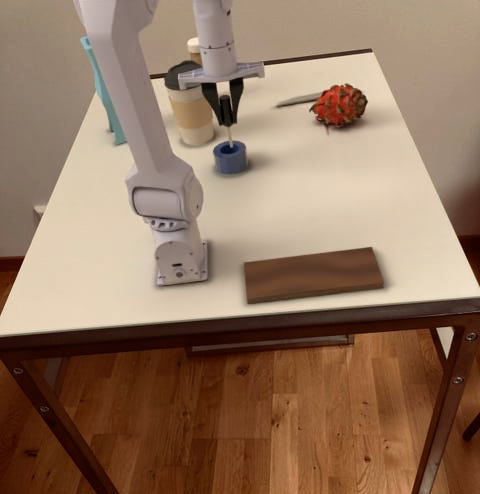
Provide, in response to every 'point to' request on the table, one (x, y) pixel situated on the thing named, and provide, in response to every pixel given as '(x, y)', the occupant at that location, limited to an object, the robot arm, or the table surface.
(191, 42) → the sprinkles bottle
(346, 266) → the cutting board
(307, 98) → the chef's knife
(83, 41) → the vase
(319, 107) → the dragon fruit
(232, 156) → the utensil cup
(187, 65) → the coffee cup
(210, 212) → the table surface
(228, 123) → the screwdriver
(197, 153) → the table surface
